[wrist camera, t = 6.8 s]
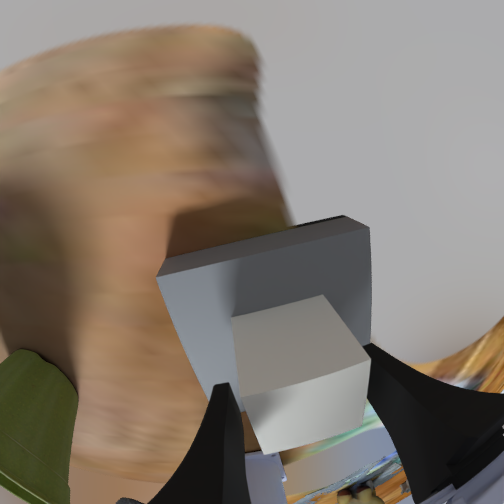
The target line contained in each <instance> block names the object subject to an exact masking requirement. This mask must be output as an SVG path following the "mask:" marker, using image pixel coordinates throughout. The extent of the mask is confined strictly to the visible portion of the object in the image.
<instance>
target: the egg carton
mask: <svg viewBox="0 0 504 504" xmlns="http://www.w3.org/2000/svg"><path fill="white" fill-rule="evenodd" d="M400 487H401V489H402V492H401V494H403V493H404V492H407V493H408V492H409V491H411V490H410V486H409V483H408V479H407V480H406V482H405V483H403V484H401V485H400Z"/></svg>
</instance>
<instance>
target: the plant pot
mask: <svg viewBox="0 0 504 504" xmlns="http://www.w3.org/2000/svg"><path fill="white" fill-rule="evenodd" d="M77 409H78V396H77V393H76V391H75V389H74V387H73V385H72V384H71V382H70V381H69V380H68V379H67V377H66V376H65V375H64V374H63V373H62V372H61V371H60V370H59V369H58V368H57V367H56V366H54V365H52V364H50V363H47V362H45V361H44V360H43V359H42V358H40V356H39V355H38V354H37V353H34V352H32V351H29V350H24V349H20V350H16V351H15V352H13V353H12V354H11V355H10V356H9V357H8V358H6V359H5V360H4V361H3V362H2V363H1V364H0V486H2V487H3V488H5V489H6V490H7V491H9V492H10V493H12V494H13V495H15V496H17V497H18V498H20V499H22V500H23V501H25V502H27V503H29V504H70V488H69V486H68V476H69V475H68V474H69V463H70V454H71V445H72V438H73V431H74V425H75V419H76V414H77Z"/></svg>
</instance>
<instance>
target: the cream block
mask: <svg viewBox="0 0 504 504" xmlns="http://www.w3.org/2000/svg"><path fill="white" fill-rule="evenodd" d="M231 323H232V332H233V340H234V349H235V358H236V366H237V374H238V382H239V390H240V397H241V400H242V403H243V405H244V408H245V410H246V413H247V415H248V418H249V420H250V423H251V425H252V428H253V430H254V432H255V435H256V437H257V440H258V442H259V444H260V447H261V449H262V451H263V454H264V455H266V454H271V453H275V452H280V451H284V450H288V449H292V448H296V447H300V446H303V445H307V444H310V443H314V442H317V441H320V440H324V439H327V438H330V437H333V436H336V435H339V434H341V433H344V432H347V431H350V430H352V429H355V428H357V427H360V426H362V422H363V416H364V410H365V404H366V397H367V390H368V382H369V374H370V365H371V358H370V357H369V356H368V354H367V353H366V351H365V350H364V349H363V347H362V346H361V345H360V343H359V342H358V341H357V339H356V338H355V336H354V335H353V334H352V332H351V331H350V330H349V328H348V327H347V326H346V324H345V323H344V322H343V320H342V319H341V318H340V316H339V315H338V314H337V312H336V311H335V310H334V308H333V307H332V306H331V304H330V303H329V302H328V300H327V299H326V298H325V297H324V295H323V294H322V295H319V296H315V297H312V298H308V299H304V300H300V301H297V302H293V303H289V304H285V305H281V306H277V307H273V308H269V309H265V310H261V311H257V312H253V313H248V314H244V315H240V316H235V317H231Z"/></svg>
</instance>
